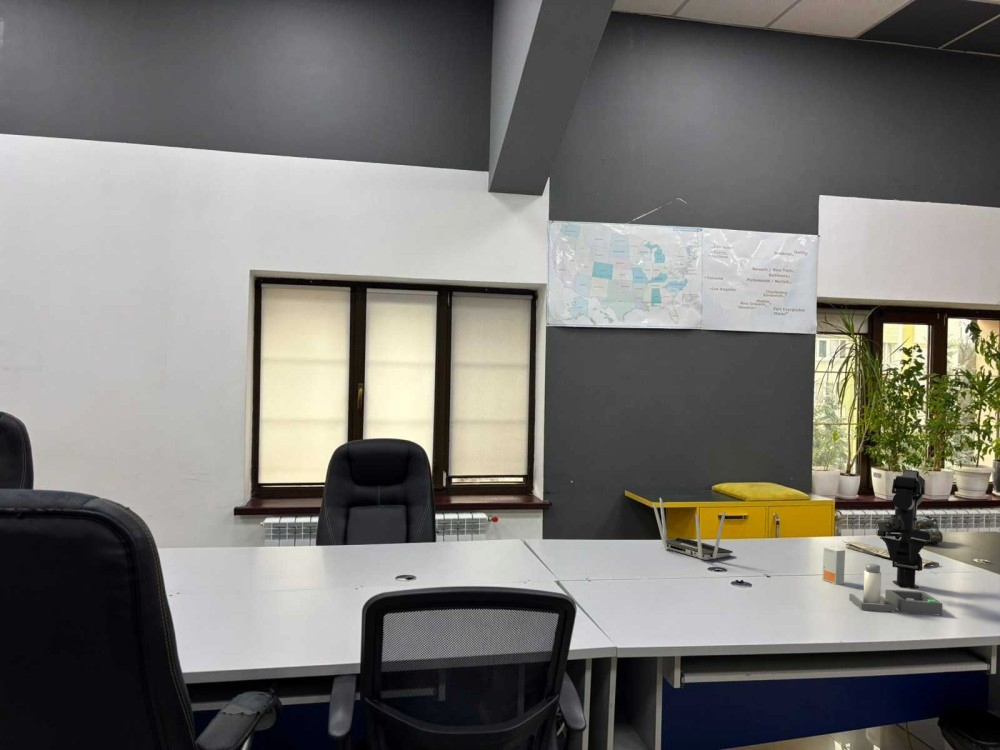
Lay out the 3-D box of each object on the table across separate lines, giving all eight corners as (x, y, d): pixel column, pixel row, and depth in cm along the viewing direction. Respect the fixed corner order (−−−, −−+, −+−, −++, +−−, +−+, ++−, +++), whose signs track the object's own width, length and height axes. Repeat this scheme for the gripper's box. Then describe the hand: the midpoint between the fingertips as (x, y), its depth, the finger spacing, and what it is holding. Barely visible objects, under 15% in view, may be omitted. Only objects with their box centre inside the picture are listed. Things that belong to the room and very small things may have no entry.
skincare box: (821, 579, 259) (823, 546, 259) (830, 578, 261) (831, 545, 261) (835, 584, 254) (837, 550, 254) (844, 583, 255) (845, 550, 255)
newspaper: (939, 567, 285) (939, 558, 285) (920, 570, 279) (920, 561, 279) (857, 546, 316) (858, 538, 316) (839, 549, 310) (839, 540, 310)
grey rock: (903, 543, 323) (897, 513, 330) (910, 549, 331) (905, 520, 337) (940, 539, 314) (934, 508, 321) (947, 546, 322) (941, 515, 328)
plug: (860, 602, 234) (862, 562, 234) (876, 603, 233) (877, 563, 233) (866, 607, 229) (868, 566, 229) (882, 608, 228) (883, 567, 228)
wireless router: (745, 559, 284) (746, 509, 284) (706, 567, 271) (708, 514, 271) (679, 541, 312) (681, 495, 312) (641, 547, 299) (643, 499, 299)
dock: (885, 600, 237) (885, 587, 237) (923, 602, 236) (924, 590, 236) (901, 612, 225) (901, 599, 225) (942, 615, 224) (942, 601, 224)
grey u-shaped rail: (849, 599, 237) (849, 593, 237) (881, 601, 236) (881, 595, 236) (861, 609, 227) (861, 603, 227) (894, 611, 226) (894, 605, 226)
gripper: (864, 509, 251) (861, 554, 247) (902, 508, 233) (899, 557, 229) (893, 515, 252) (890, 560, 249) (933, 515, 234) (930, 564, 231)
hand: (901, 560), depth 239 cm, fingers open, 9 cm apart
